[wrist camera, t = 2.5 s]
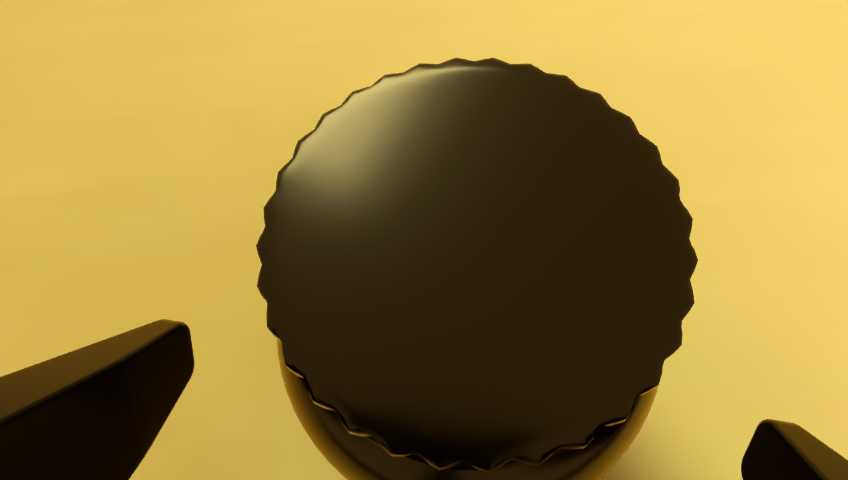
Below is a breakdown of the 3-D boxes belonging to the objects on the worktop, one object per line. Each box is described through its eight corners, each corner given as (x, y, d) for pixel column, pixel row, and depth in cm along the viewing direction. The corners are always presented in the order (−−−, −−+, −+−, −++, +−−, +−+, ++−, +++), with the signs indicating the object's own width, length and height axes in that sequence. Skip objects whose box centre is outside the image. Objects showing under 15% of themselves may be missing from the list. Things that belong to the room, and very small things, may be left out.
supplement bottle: (332, 312, 17) (114, 90, 6) (510, 240, 18) (596, -79, 7) (402, 520, 15) (244, 757, 4) (606, 428, 16) (985, 402, 4)
